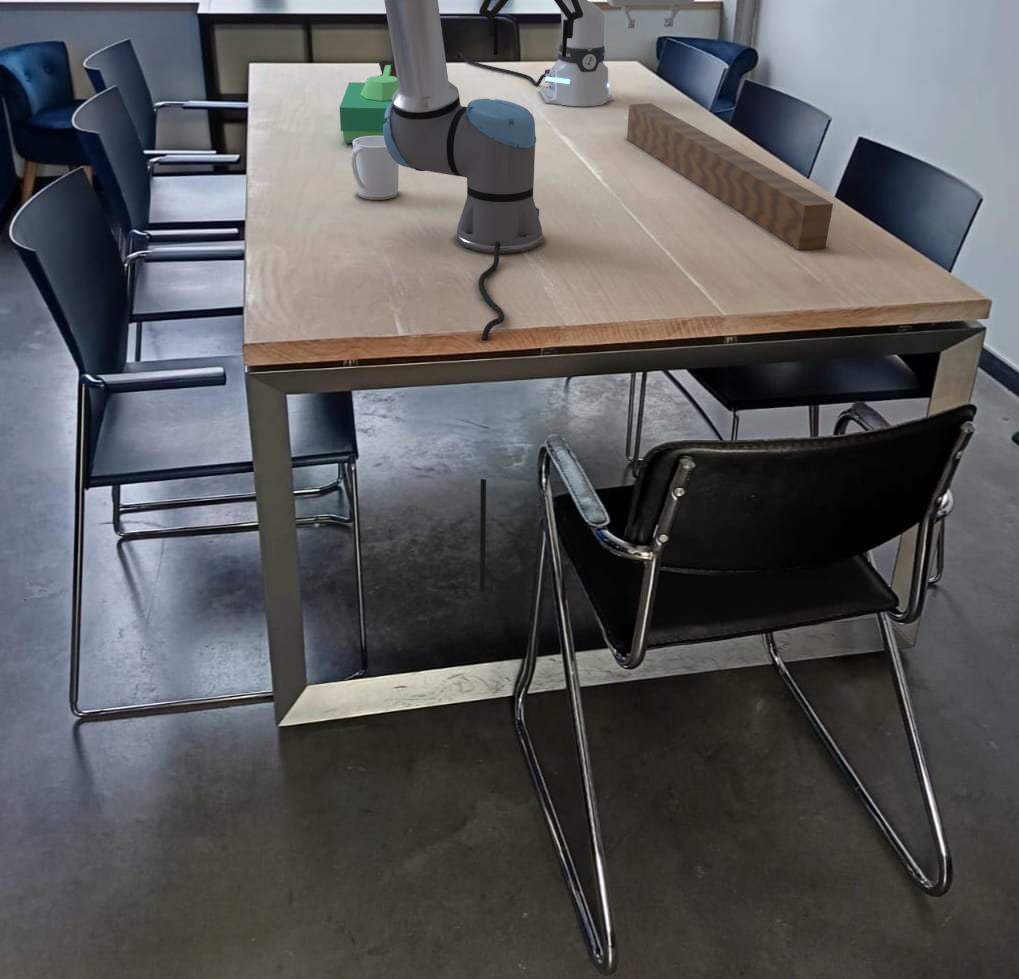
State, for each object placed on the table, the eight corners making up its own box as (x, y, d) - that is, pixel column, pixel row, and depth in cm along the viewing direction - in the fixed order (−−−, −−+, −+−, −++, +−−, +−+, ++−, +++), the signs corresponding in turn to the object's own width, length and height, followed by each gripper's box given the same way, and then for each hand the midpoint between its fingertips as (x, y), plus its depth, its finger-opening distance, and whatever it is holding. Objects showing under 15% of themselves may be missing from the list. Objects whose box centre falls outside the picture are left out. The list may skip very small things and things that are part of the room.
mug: (378, 184, 223) (375, 133, 218) (409, 193, 218) (408, 141, 213) (338, 196, 216) (335, 143, 210) (370, 205, 211) (367, 151, 206)
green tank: (422, 61, 273) (418, 91, 243) (422, 112, 279) (419, 147, 249) (350, 60, 272) (338, 90, 242) (353, 111, 278) (341, 146, 248)
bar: (825, 247, 196) (833, 203, 192) (797, 250, 195) (805, 205, 190) (648, 137, 262) (651, 103, 257) (626, 139, 260) (629, 104, 256)
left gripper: (597, -64, 210) (590, 53, 221) (468, -68, 210) (467, 50, 221) (601, -61, 204) (593, 59, 215) (467, -65, 203) (466, 56, 214)
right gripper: (690, -42, 245) (685, 24, 252) (605, -41, 240) (602, 26, 247) (703, -41, 240) (697, 27, 247) (616, -40, 235) (612, 30, 241)
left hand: (529, 55), depth 218 cm, fingers open, 13 cm apart
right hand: (649, 27), depth 247 cm, fingers open, 8 cm apart
